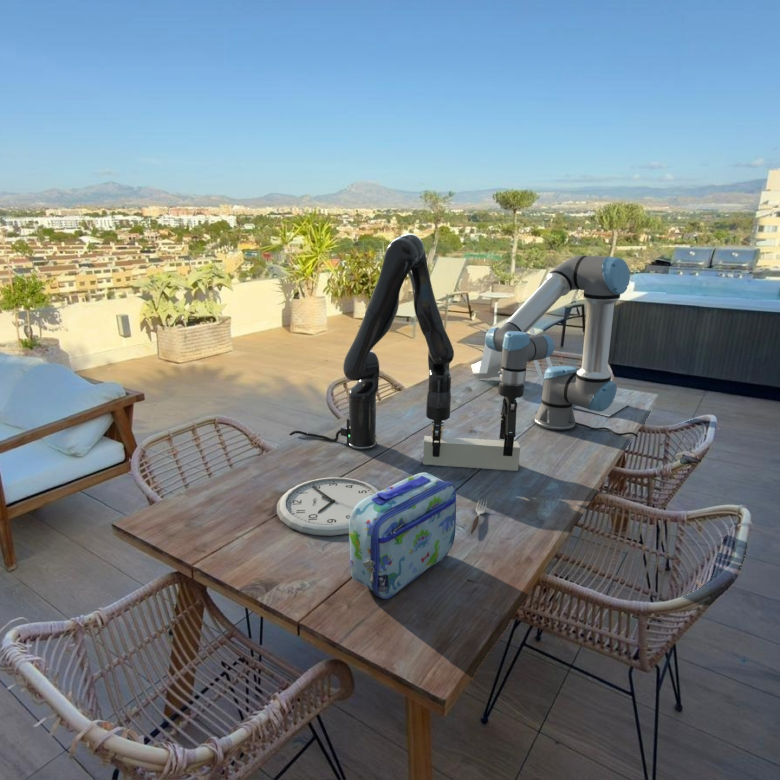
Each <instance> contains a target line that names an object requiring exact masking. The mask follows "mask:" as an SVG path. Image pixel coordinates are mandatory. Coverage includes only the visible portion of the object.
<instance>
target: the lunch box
mask: <svg viewBox="0 0 780 780" xmlns="http://www.w3.org/2000/svg"><path fill="white" fill-rule="evenodd" d="M456 524H457V489H456V486H455V484H454V483H453V482H452V481H445V480H442V479H440V478H439V477H436V476H434V475H433V474H431V473H429V472H426V471H425V472H424V471H423V472H419V473H416V474H413V475H411V476H409V477H407V478H405V479H403V480H401V481H400V480H399V481H398V482H396V483H395V484H392V485H390V486H388V487H385V488H383V489H382V490H380V492H378V493H376V494H374V495H372V496H370V497H367V498H365V499H363V500H362V501H360V502H359V503H358V504H357V505H356V506H355V507H354V509H353V511H352V513H351V515H350V520H349V534H348V542H349V543H348V544H349V568H350V575H351V577H352V579H353V581H355V582H356V583H359V584H361V585H362V586H364V587H366V588H367V589H369V590H370V591H372V592H373V593H374V595H375V596H377V597H378V598H380V599H384V600H387V599H390V598H392V597H394V596H395V595H396V594H397V593H398V592H400V591H401V590H403V589H404V588H405V587H406V586H407V585H410V584H411V583H412V582H413V581H414V580H416V579H417V578H418V577H419V576H421V575H422V574H423V573H425V571H427V570H428V569H429V568H431V567H433V566H435V565H436V564H438V563H439V562H441V561H442V560H443V559H445V558H446V557H447V556H448V554H449V552H450V551H451V550H452V547H453V545H454V542H455V539H456V538H455V536H456V526H457V525H456Z"/></svg>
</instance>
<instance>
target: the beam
mask: <svg viewBox="0 0 780 780" xmlns="http://www.w3.org/2000/svg"><path fill="white" fill-rule="evenodd" d="M434 442H439V441H434ZM432 443H433V438H432V437H431V435H424V439H423V455H422V456H423V457H422V458H423V460H422V465H425V466H439V467H440V466H441V467H452V468H453V467H455V468H469V469H484V470H499V471H515V472H518V471H519V463H520V455H521V445H520V442H519V441H517V440H516V441H515V440H514V444H513V453H512V456H503V449H504V440H502V439H486V438H485V439H484V438H483V439H482V438H467V437H466V438H465V437H451V436H450V437H449V436H442V439H441V441H440V444H441V446H440V455H439V457H433V446H432Z"/></svg>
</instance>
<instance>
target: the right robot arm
mask: <svg viewBox="0 0 780 780" xmlns="http://www.w3.org/2000/svg"><path fill="white" fill-rule="evenodd" d="M630 278H631V273H630V268H629V265H628V264H627V262H626V260H624V259H623V258H621V257H616V256H615V257H614V256H601V255H584V254H582V255H576V256H573V257H571V258H568V259H566V260H564V261H563V262H561V263H560V264H558V265H557V266H555V267H554V268H553V269H552V270H551V271H550V272H549V273H548V274H547V275H546V276H545V278H544V282H543V283H542V284H541V285H540V286H539V287H538V288H537V289H536V290H535V291H534V293H532V295H530V297H528V299H527V300H525V302H524V303H522V305H521V306H520V307H519V308H518V309H517V310H516V311H515V312H514V313H513V314H512V315H511V316H510V317H509V319H507V321H506V322H504V324H502V326H501V327H499V326H498V327H496V326H495V327H494V326H493V327H491V328H490V329H488V330H487V332H486V334H485V337H484V343H485V342H486V345H487V347H488V348H490V349H492V350H495V351H497V352H502V364H501V371H499V372H498V374H501V375H500V377H499V381H500V382H499V383H498V395H500V396H501V397H503V399H502V405H501V412H500V425H499V426H500V427H499V428H500V429H499V437H498V438H499V439H498V440H503V441H504V449H503V456H512V453H513V444H514V441H515V438H516V436H517V434H516V433H517V432H516V431H517V430H516V429H517V428H516V426H517V411H518V410H517V409H518V401H517V399H518V398H519V399H520V398H522V397H523V396H524V394H525V383H526V377H527V365H528V363H529V362H534V360H538V361H540V360H544V359H546V358H547V357H551V356H552V355H553V353H554V350H555V342H554V340H553V338H552V337H551V336H550V335H548V334H537V335H536V334H535V335H531V333H528V332H530V329H531V328H532V327H533V328H534V326H535V325H536V324H537V323H538V321H540V320H541V318H543V316H545V314H546V313H547V312H548V311H549V310H550V309H551V308H552V307H553V306H554V305H555V303H557V302H558V301H559V299H560V298H561V297H564V296H567V295H568V294H569V293H570V292H571V291H575V290H580V291H583V298H584V300H585V301H586V302H587V304H586V316H585V324H584V327H585V328H584V335H583V337H584V338H583V348H582V358H581V367H580V368H579V369H578V368H577V367H576V366H571V365H570V366H569V365H555V366H554V365H553V367H550V368H549V367H547V368H546V369H545V371H544V373H543V374H544V375H543V377H544V378H543V379H544V382H543V387H542V394H541V402H540V405H539V407H538V410H537V411H535V416H534V424H535V425H536V426H537V427H539V428H542V429H544V430H549V431H556V432H567V431H572V430H574V429H575V428H576V425H577V426H581V427H584V428H586V429H590V430H594V431H601V430H606V431H608V432H611V433H612V434H613V435H617V436H625V435H626V436H627V435H633V436H634V437H636V438H638V437H639V435H638V434H637V433H635V432H633V431H627V432H616V431H614V430H613V429H611V428H609V427H603V426H601V427H592V426H590V425H587V424H584V423H580V422H577V421H576V418H575V417H576V416H575V413H574V407H573V405H574V406H580V407H583V408H587V409H589V410H594V411H599V412H600V411H604V410H606V409H607V408H608V407H609V406H610V405H611V403H612V402H613V401H614V400H615V398H616V394H617V389H618V387H617V384H616V382H614V381H613V380H611V379H612V373H611V372H610V371H609V369H608V366H609V356H610V347H611V340H612V339H611V337H612V327H613V319H614V312H615V311H614V310H615V303H616V302H617V301H619V300H620V299H621V295H622V294H624V293H625V292H626V291H627V289H628V287H629V285H630V281H631V279H630Z"/></svg>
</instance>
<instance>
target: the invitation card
mask: <svg viewBox="0 0 780 780" xmlns="http://www.w3.org/2000/svg"><path fill="white" fill-rule="evenodd" d="M628 406H629V404H627V403H623V402H618V401H614V400H613V402H612V403H611V405H610V406H609V407H608V408H607V409H606V410H604V411H600V412H599V411H594V410H589V409H587V408H583V407H580V406H577V405H575V406H574V407H573V409H575V410H581V411H584V412H587V413H593V414H596V415H600V416H604V417H608V418H609V417H611V416H613V415H614V414H616V413H617V412H619V411H621V410H623V409H624V408H626V407H628Z"/></svg>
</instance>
